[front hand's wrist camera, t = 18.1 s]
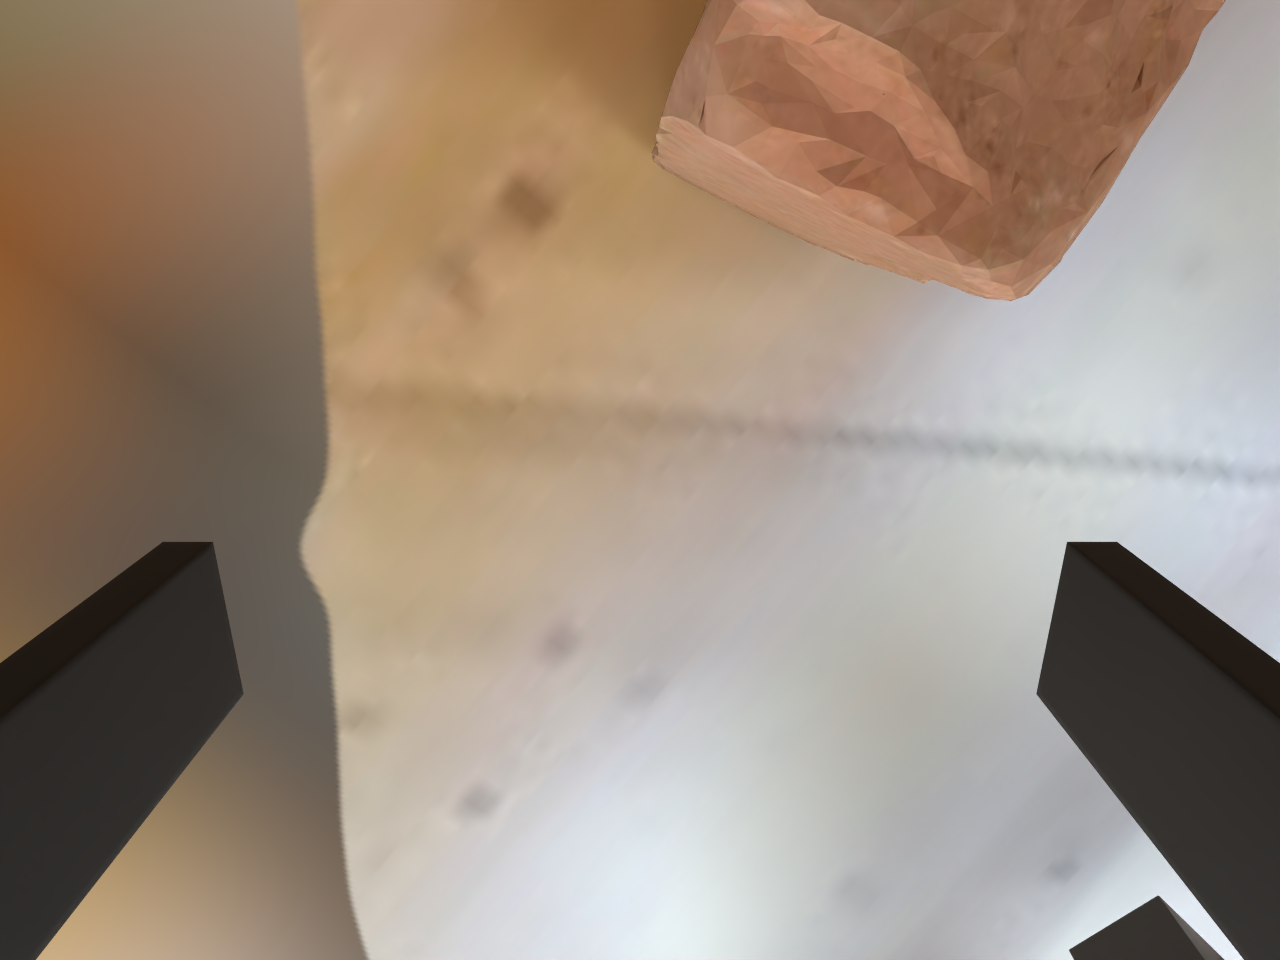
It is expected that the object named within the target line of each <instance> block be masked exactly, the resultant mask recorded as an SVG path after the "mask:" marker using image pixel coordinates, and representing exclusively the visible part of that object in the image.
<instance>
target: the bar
mask: <svg viewBox="0 0 1280 960" xmlns="http://www.w3.org/2000/svg"><path fill="white" fill-rule="evenodd" d="M1069 951H1070V953H1071V955H1072V957H1073V958H1074V960H1224V959H1223V958H1222V957H1221V956H1220V955H1219V954H1218V953H1217V952H1216V951H1215V950H1214V949H1213V948H1212V947H1211V946H1210V945H1209V944H1208V943H1207V942H1206V941H1205V940H1204V939H1203V938H1202V937H1201V936H1200V935H1199V934H1197V933H1196V932H1195V931H1194V930H1193V929H1192V928H1191V927H1190V926H1189V925H1188V924H1187V923H1186V922H1185V921H1184V920H1183V919H1182V918H1181V917H1180V916H1179V915H1178V914H1177V913H1176V912H1175V911H1174V910H1173V909H1172V908H1171V907H1170V906H1169V905H1168V904H1167V903H1166V902H1165V901H1164V900H1163V899H1162V898H1161V897H1160V896H1156V897H1155V898H1153V899H1152V900H1150V901H1148V902H1147V903H1145V904H1143V905H1142V906H1140V907H1138V908H1137V909H1135V910H1134V911H1132V912H1130V913H1129V914H1127V915H1125V916H1124V917H1122V918H1120V919H1119V920H1117V921H1115V922H1114V923H1112V924H1111V925H1109V926H1107V927H1106V928H1104V929H1102V930H1101V931H1099V932H1097V933H1096V934H1094V935H1093V936H1091V937H1089V938H1088V939H1086V940H1084V941H1083V942H1081V943H1079V944H1078V945H1076V946H1075V947H1073V948H1071V949H1070V950H1069Z"/></svg>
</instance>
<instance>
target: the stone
mask: <svg viewBox="0 0 1280 960" xmlns="http://www.w3.org/2000/svg"><path fill="white" fill-rule="evenodd" d="M1224 2H1225V0H708V1H707V3H706V5H705V8H704V11H703V14H702V17H701V19H700V21H699V23H698V26H697V28H696V30H695V33H694V35H693V37H692V39H691V41H690V43H689V45H688V47H687V49H686V51H685V54H684V56H683V58H682V60H681V63H680V65H679V67H678V70H677V72H676V74H675V77H674V80H673V83H672V86H671V89H670V92H669V95H668V98H667V101H666V104H665V107H664V110H663V113H662V117H661V120H660V123H659V125H660V126H659V129H658V131H657V134H656V145H655V147H654V150H653V152H652V154H653V161H654V162H655V163H657V164H658V165H659V166H660V167H661V168H663V169H664V170H666V171H668V172H670V173H672V174H674V175H676V176H678V177H680V178H682V179H683V180H685V181H687V182H689V183H691V184H693V185H695V186H697V187H699V188H701V189H703V190H704V191H706V192H708V193H710V194H712V195H714V196H716V197H718V198H720V199H722V200H724V201H726V202H728V203H730V204H732V205H734V206H736V207H738V208H740V209H742V210H743V211H745V212H747V213H749V214H751V215H753V216H755V217H757V218H759V219H762V220H764V221H766V222H768V223H770V224H772V225H774V226H776V227H778V228H780V229H782V230H784V231H786V232H788V233H791V234H793V235H795V236H797V237H799V238H801V239H803V240H805V241H807V242H809V243H810V244H813V245H816V246H820V247H822V248H825V249H827V250H829V251H832V252H834V253H836V254H838V255H841V256H843V257H846V258H848V259H851V260H857V261H859V262H861V263H864V264H867V265H872V266H875V267H879V268H882V269H885V270H888V271H891V272H895V273H897V274H900V275H903V276H906V277H909V278H912V279H914V280H917V281H919V282H922V283H925V282H927V281H929V280H931V279H934V280H936V281H939V282H941V283H944V284H947V285H949V286H952V287H954V288H957V289H960V290H962V291H964V292H966V293H969V294H973V295H976V296H981V297H984V298H988V299H998V300H1008V301H1012V300H1014V299H1017V298H1020V297H1023V296H1026V295H1028V294H1029V293H1030V292H1031V291H1032V290H1033V289H1034V288H1035V287H1036V286H1037V285H1038V284H1039V283H1040V282H1041V281H1042V280H1043V279H1044V278H1045V277H1046V276H1047V275H1048V274H1049V273H1050V272H1051V271H1052V270H1053V269H1054V268H1055V267H1056V266H1057V264H1058V263H1059V262H1060V261H1061V259H1062V257H1063V255H1064V254H1065V253H1066V251H1067V250H1068V249H1069V247H1070V246H1071V244H1072V243H1073V242H1074V240H1075V239H1076V238H1077V236H1078V235H1079V234H1080V232H1081V231H1082V229H1083V228H1084V227H1085V225H1086V224H1087V223H1088V221H1089V220H1090V219H1091V217H1092V216H1093V215H1094V213H1095V212H1096V210H1097V209H1098V208H1099V206H1100V205H1101V204H1102V202H1103V201H1104V199H1105V197H1106V195H1107V194H1108V192H1109V190H1110V189H1111V187H1112V185H1113V184H1114V182H1115V180H1116V178H1117V177H1118V175H1119V173H1120V172H1121V170H1122V168H1123V167H1124V165H1125V163H1126V161H1127V160H1128V158H1129V156H1130V154H1131V153H1132V151H1133V149H1134V148H1135V146H1136V144H1137V142H1138V141H1139V139H1140V137H1141V136H1142V135H1143V133H1144V132H1145V130H1146V129H1147V127H1148V126H1149V124H1150V123H1151V121H1152V120H1153V118H1154V117H1155V115H1156V114H1157V112H1158V111H1159V109H1160V108H1161V106H1162V105H1163V103H1164V102H1165V100H1166V99H1167V97H1168V96H1169V94H1170V93H1171V91H1172V90H1173V88H1174V86H1175V85H1176V83H1177V82H1178V80H1179V79H1180V77H1181V76H1182V74H1183V73H1184V71H1185V69H1186V68H1187V66H1188V65H1189V62H1190V60H1191V57H1192V55H1193V52H1194V50H1195V47H1196V45H1197V42H1198V40H1199V37H1200V35H1201V32H1202V30H1203V28H1204V27H1205V26H1206V25H1207V24H1208V23H1209V21H1210V20H1211V19H1212V18H1213V17H1214V15H1215V14H1216V13H1217V12H1218V11H1219V9H1220V8H1221V6H1222V5H1223V3H1224Z"/></svg>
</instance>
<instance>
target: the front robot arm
mask: <svg viewBox="0 0 1280 960" xmlns="http://www.w3.org/2000/svg"><path fill="white" fill-rule="evenodd" d="M242 695H243V689H242V684H241V679H240V674H239V669H238V664H237V659H236V654H235V649H234V644H233V640H232V635H231V630H230V625H229V620H228V615H227V610H226V605H225V600H224V595H223V590H222V585H221V580H220V575H219V570H218V565H217V560H216V555H215V550H214V546H213V542H162V543H161V544H160V545H158V546H157V547H156V548H154V549H153V550H152V551H150V552H149V553H148V554H146V555H145V556H144V557H142V558H141V559H140V560H138V561H137V562H136V563H134V564H133V565H131V566H130V567H129V568H127V569H126V570H125V571H123V572H122V573H121V574H119V575H118V576H117V577H115V578H114V579H113V580H111V581H110V582H109V583H107V584H106V585H105V586H103V587H102V588H101V589H99V590H98V591H97V592H95V593H94V594H93V595H91V596H90V597H88V598H87V599H86V600H84V601H83V602H82V603H81V604H79V605H78V606H76V607H75V608H74V609H72V610H71V611H70V612H68V613H67V614H66V615H64V616H63V617H62V618H60V619H59V620H58V621H56V622H55V623H54V624H52V625H51V626H50V627H48V628H47V629H46V630H44V631H43V632H42V633H40V634H39V635H37V636H36V637H35V638H33V639H32V640H31V641H29V642H28V643H27V644H25V645H24V646H23V647H21V648H20V649H19V650H17V651H16V652H15V653H13V654H12V655H11V656H9V657H8V658H7V659H5V660H4V661H3V662H1V663H0V960H36V959H37V958H38V956H39V955H40V954H41V952H42V951H43V950H44V949H45V947H46V946H47V945H48V943H49V942H50V941H51V940H52V938H53V937H54V936H55V934H56V933H57V932H58V931H59V929H60V928H61V927H62V926H63V924H64V923H65V922H66V920H67V919H68V918H69V917H70V915H71V914H72V913H73V911H74V910H75V909H76V908H77V906H78V905H79V904H80V902H81V901H82V900H83V899H84V897H85V896H86V895H87V893H88V892H89V891H90V890H91V888H92V887H93V886H94V885H95V883H96V882H97V881H98V879H99V878H100V877H101V876H102V874H103V873H104V872H105V871H106V869H107V868H108V867H109V865H110V864H111V863H112V862H113V860H114V859H115V858H116V856H117V855H118V854H119V853H120V851H121V850H122V849H123V847H124V846H125V845H126V844H127V842H128V841H129V840H130V838H131V837H132V836H133V835H134V833H135V832H136V831H137V829H138V828H139V827H140V826H141V824H142V823H143V822H144V821H145V819H146V818H147V817H148V815H149V814H150V813H151V812H152V810H153V809H154V808H155V807H156V805H157V804H158V803H159V801H160V800H161V799H162V798H163V796H164V795H165V794H166V792H167V791H168V790H169V789H170V787H171V786H172V785H173V783H174V782H175V781H176V780H177V778H178V777H179V776H180V775H181V773H182V772H183V771H184V769H185V768H186V767H187V765H188V764H189V763H190V762H191V760H192V759H193V758H194V757H195V755H196V754H197V753H198V752H199V750H200V749H201V748H202V746H203V745H204V744H205V742H206V741H207V740H208V739H209V737H210V736H211V735H212V734H213V732H214V731H215V730H216V728H217V727H218V726H219V725H220V723H221V722H222V721H223V720H224V718H225V717H226V716H227V714H228V713H229V712H230V711H231V709H232V708H233V707H234V705H235V704H236V703H237V702H238V700H239V699H240V698H241V696H242ZM1037 695H1038V696H1039V698H1040V699H1041V700H1042V702H1043V703H1044V704H1045V705H1046V707H1047V708H1048V709H1049V711H1050V712H1051V713H1052V714H1053V716H1054V717H1055V718H1056V720H1057V721H1058V722H1059V723H1060V725H1061V726H1062V727H1063V728H1064V730H1065V731H1066V732H1067V734H1068V735H1069V736H1070V737H1071V739H1072V740H1073V741H1074V743H1075V744H1076V745H1077V746H1078V748H1079V749H1080V750H1081V752H1082V753H1083V754H1084V755H1085V757H1086V758H1087V759H1088V760H1089V762H1090V763H1091V764H1092V766H1093V767H1094V768H1095V769H1096V771H1097V772H1098V773H1099V775H1100V776H1101V777H1102V778H1103V780H1104V781H1105V782H1106V783H1107V785H1108V786H1109V787H1110V789H1111V790H1112V791H1113V792H1114V794H1115V795H1116V796H1117V798H1118V799H1119V800H1120V801H1121V803H1122V804H1123V805H1124V807H1125V808H1126V809H1127V810H1128V812H1129V813H1130V814H1131V815H1132V817H1133V818H1134V819H1135V821H1136V822H1137V823H1138V824H1139V826H1140V827H1141V828H1142V830H1143V831H1144V832H1145V833H1146V835H1147V836H1148V837H1149V839H1150V840H1151V841H1152V842H1153V844H1154V845H1155V846H1156V847H1157V849H1158V850H1159V851H1160V853H1161V854H1162V855H1163V856H1164V858H1165V859H1166V860H1167V862H1168V863H1169V864H1170V865H1171V867H1172V868H1173V869H1174V871H1175V872H1176V873H1177V874H1178V876H1179V877H1180V878H1181V879H1182V881H1183V882H1184V883H1185V885H1186V886H1187V887H1188V888H1189V890H1190V891H1191V892H1192V894H1193V895H1194V896H1195V897H1196V899H1197V900H1198V901H1199V903H1200V904H1201V905H1202V906H1203V908H1204V909H1205V910H1206V911H1207V913H1208V914H1209V915H1210V917H1211V918H1212V919H1213V920H1214V922H1215V923H1216V924H1217V926H1218V927H1219V928H1220V929H1221V931H1222V932H1223V933H1224V934H1225V936H1226V937H1227V938H1228V940H1229V941H1230V942H1231V943H1232V945H1233V946H1234V947H1235V949H1236V950H1237V951H1238V952H1239V954H1240V955H1241V956H1242V958H1243V959H1244V960H1280V663H1279V662H1277V661H1276V660H1275V659H1273V658H1272V657H1271V656H1269V655H1268V654H1267V653H1265V652H1264V651H1263V650H1261V649H1260V648H1259V647H1257V646H1256V645H1255V644H1253V643H1252V642H1251V641H1249V640H1248V639H1247V638H1245V637H1244V636H1243V635H1241V634H1240V633H1238V632H1237V631H1236V630H1234V629H1233V628H1232V627H1230V626H1229V625H1228V624H1226V623H1225V622H1224V621H1222V620H1221V619H1220V618H1218V617H1217V616H1216V615H1214V614H1213V613H1212V612H1210V611H1209V610H1208V609H1206V608H1205V607H1204V606H1202V605H1201V604H1200V603H1198V602H1197V601H1196V600H1194V599H1193V598H1192V597H1190V596H1189V595H1187V594H1186V593H1185V592H1183V591H1182V590H1181V589H1179V588H1178V587H1177V586H1175V585H1174V584H1173V583H1171V582H1170V581H1169V580H1167V579H1166V578H1165V577H1163V576H1162V575H1161V574H1159V573H1158V572H1157V571H1155V570H1154V569H1153V568H1151V567H1150V566H1149V565H1147V564H1146V563H1145V562H1143V561H1142V560H1141V559H1139V558H1138V557H1136V556H1135V555H1134V554H1132V553H1131V552H1130V551H1128V550H1127V549H1126V548H1124V547H1123V546H1122V545H1120V544H1119V543H1118V542H1067V545H1066V550H1065V555H1064V560H1063V565H1062V570H1061V575H1060V580H1059V585H1058V590H1057V595H1056V600H1055V605H1054V610H1053V615H1052V620H1051V625H1050V630H1049V635H1048V639H1047V644H1046V649H1045V654H1044V659H1043V664H1042V669H1041V674H1040V679H1039V684H1038V689H1037Z"/></svg>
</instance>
